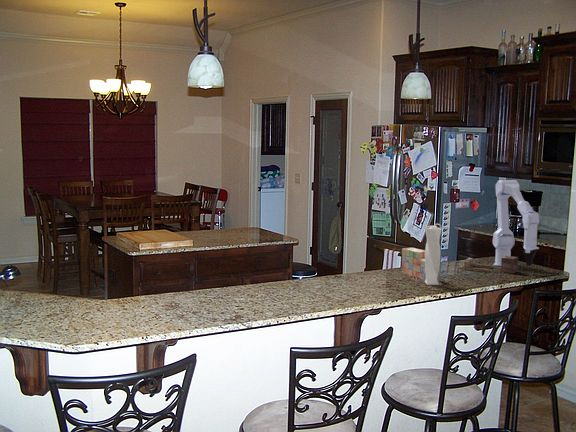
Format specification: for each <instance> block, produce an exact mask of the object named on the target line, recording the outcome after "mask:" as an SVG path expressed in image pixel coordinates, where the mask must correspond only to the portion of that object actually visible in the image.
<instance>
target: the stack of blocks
mask: <svg viewBox="0 0 576 432" xmlns="http://www.w3.org/2000/svg"><path fill="white" fill-rule="evenodd" d="M401 273H402V274H404V273H405V274H404V275H407V274H408V275H407V276H410V277H413V278H416V279H420V280H423V281H425V280H426V272H425V249H419V248H416V247H406V248H405V247H404V248H401Z"/></svg>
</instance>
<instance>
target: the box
mask: <svg viewBox="0 0 576 432" xmlns="http://www.w3.org/2000/svg"><path fill="white" fill-rule="evenodd" d="M518 265H519V257H518V256H505V257H502V258H501V266H500V267H501V268H500V269H501V270H500V271H501V273H507V274H515V273H517V272H518Z"/></svg>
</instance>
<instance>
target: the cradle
mask: <svg viewBox="0 0 576 432" xmlns="http://www.w3.org/2000/svg"><path fill="white" fill-rule="evenodd" d="M473 266H475V267H473ZM483 267H484V268H483ZM493 267H494V265H493V264H492V265H490V264H480V263H474V258H472V257H468V258H466V259H465V261H464V266H463V270H464V271H472V270H473V271H475V272H483V273H489V271H490V270H489V269H493Z"/></svg>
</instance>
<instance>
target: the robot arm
mask: <svg viewBox="0 0 576 432" xmlns="http://www.w3.org/2000/svg"><path fill="white" fill-rule="evenodd" d="M495 196H496V204H497V207H496V208H497V230H496V231H495V232H493V237H492V245H493V247H494V248H495V259H494V261H495V262H494V263H493V264H492V265H493V266H495V267H496V266H498V267H501V258H502V257H505V256H511V253H512V252H511V250H512V249H513V247H514V246H515V243H516V242H515V237H514V232H513V231H512V230H511V229H510V225H509V224H510V223H509V221H510V220H509V218H510V217H509V201H508V200H509V198H510V197H512V199H513V200H514V201H515V202H516V203H517V207H516V208H517V210H518V211H519V213H520V215H521V217H522V219H521V221H522V224H523V229H524V235H523V236H524V237H523V249H524V250H523V251H522V253H523V255H524V258H525V263H526V264H525V265H526V266H527V267H529V266H530V267H532V266H533V265H532V264H533V262H534V257H535V255H536V253H537V250H540V247H538V246H537V240H538V239H537V238H538V225H539V224H540V223H541V215H540V212H539V213H538V212H536V211H534V209H533V207H532V206H531V204H530V203H529V201H526V200H525V199H524V197H523V195H522V192H521V191H520V183H519V182H518V181H517V180H516V179H512V180H511V179H510V180H505V179H504V180H501V179H500V180H497V182H496V183H495ZM511 257H512V256H511Z"/></svg>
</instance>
